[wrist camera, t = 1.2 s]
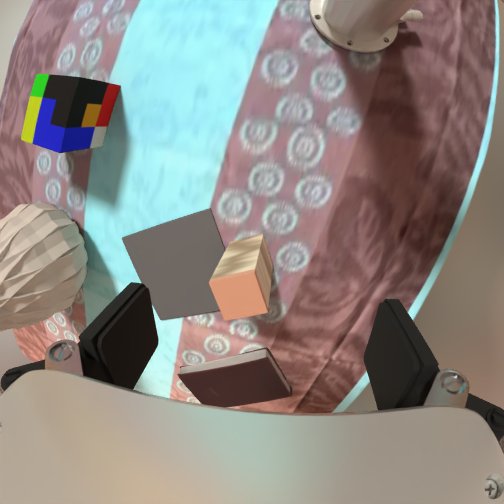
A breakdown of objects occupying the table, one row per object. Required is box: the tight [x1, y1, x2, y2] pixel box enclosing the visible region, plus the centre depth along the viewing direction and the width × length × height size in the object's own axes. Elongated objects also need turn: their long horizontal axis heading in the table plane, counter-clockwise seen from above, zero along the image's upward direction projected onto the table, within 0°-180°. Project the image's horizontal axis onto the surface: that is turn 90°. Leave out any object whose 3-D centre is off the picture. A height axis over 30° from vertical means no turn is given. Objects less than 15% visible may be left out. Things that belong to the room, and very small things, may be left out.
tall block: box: [209, 234, 273, 321], centre depth 35 cm, size 5×5×12 cm
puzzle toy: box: [21, 74, 120, 153], centre depth 29 cm, size 10×10×10 cm
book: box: [178, 348, 292, 407], centre depth 50 cm, size 12×19×3 cm, turn 114°
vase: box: [0, 203, 88, 331], centre depth 30 cm, size 20×20×30 cm
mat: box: [122, 208, 225, 320], centre depth 42 cm, size 16×16×1 cm
